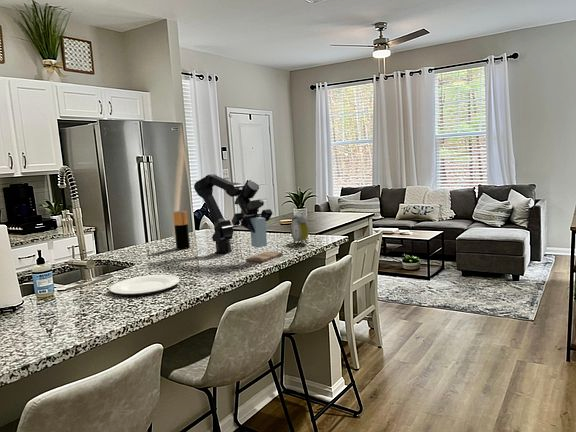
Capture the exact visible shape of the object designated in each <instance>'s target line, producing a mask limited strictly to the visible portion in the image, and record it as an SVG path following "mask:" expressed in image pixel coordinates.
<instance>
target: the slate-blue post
mask: <svg viewBox="0 0 576 432" xmlns="http://www.w3.org/2000/svg"><path fill="white" fill-rule="evenodd" d="M250 222H251V224H252V225H253V227H254V229H255V233H253V232H251V231H250V241H251V242H250V243H251V247H254V248H261V247H268V245H267V243H268V241H267V240H268V239H267V228H266V227H267V226H266V225H267V224H266V222H267V221H265V218H262V217H257V218H250Z"/></svg>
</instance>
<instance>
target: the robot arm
mask: <svg viewBox="0 0 576 432" xmlns="http://www.w3.org/2000/svg"><path fill="white" fill-rule="evenodd" d="M215 186H216V187H218V188H220V189H221V190H224V191H225V194H227V195H228V196H229V197H232V198H235V197H236V198H235V201H234V205H238V206H239V208H240V212H239V213H234V214H233V216H232V219H231V220H230V219H227V220H226V219H225V218H224V216H223V214H222V211H221V209H220V207H219V206H218V204H217V201H216V200H215V197H214V195H213V193H214V192H213V191H214V188H213V187H215ZM193 188H194V190H195V192H196V194H197V195H198V196H199V197H200V198H202V199H203V201H204V203H205V205H206V207H207V210H208V212H209V214H210V216H211V218H212V220H213V222H214V228H213V229H214V232H213V235H212V236H211V239H212V242H215V250H216V251H214V254H228V253H231V252H232V251H233V250H232V244H231V242H230V241H231V240H232V239H233V234H234V228H233V226H235V227H236V226H237V227H238V226H240V227H243V228H245V229H246V230H248V231H250V233H251V232H253V233H255V229H254V227H253V225H252V224H251V222H250V218H257V217H262V218H265V222H269V221H270V220H271V217H272V215H273V211H272V209H271V208H269V209H262V211H261V212H260V208H262V207H263V206H264V205H265V202H264V200H263V199H262V198H258V199H255V200H251V199H254V197H255V195H256V194H257V192H259V189H260V186H259V184H258V183H257V182H255V181H253V180H252V179H247V180H246V181H245V184H243V183H240V182H232V181H229V180H227V179H224V178H222V177H220V176H218V175H217V174H214V173H213V174H206V176H205V177H204V176H203V178H201V179H198V180H197V181H195V183H194V185H193ZM258 212H260V213H258Z"/></svg>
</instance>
